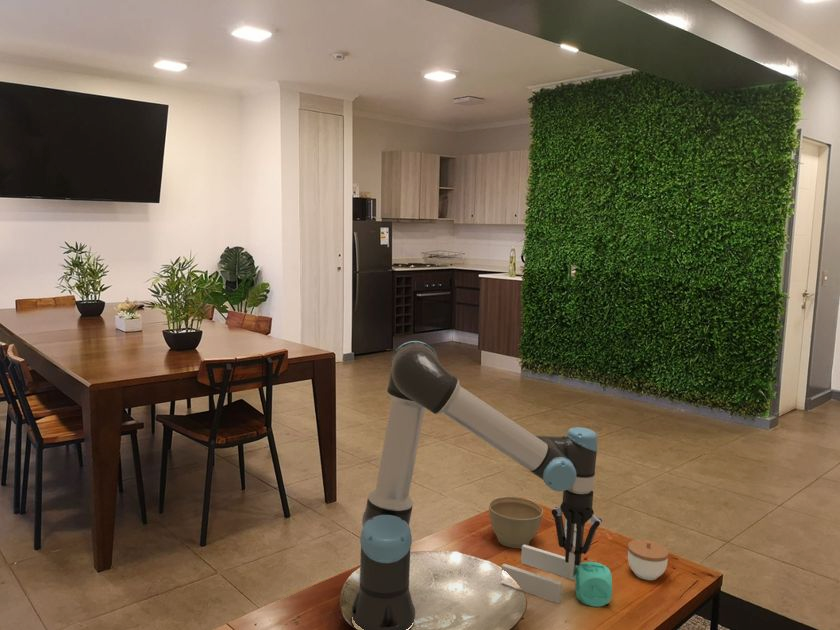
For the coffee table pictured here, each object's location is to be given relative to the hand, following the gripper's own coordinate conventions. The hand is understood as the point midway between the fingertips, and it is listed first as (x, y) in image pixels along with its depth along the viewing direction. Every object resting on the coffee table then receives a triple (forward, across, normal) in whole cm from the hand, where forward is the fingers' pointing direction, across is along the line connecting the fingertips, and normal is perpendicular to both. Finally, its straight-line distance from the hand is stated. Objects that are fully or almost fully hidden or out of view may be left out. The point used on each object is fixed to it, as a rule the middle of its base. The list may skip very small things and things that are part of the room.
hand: (571, 574), depth 170 cm
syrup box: (+5, +8, -27) cm, 29 cm away
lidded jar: (+5, -14, -21) cm, 26 cm away
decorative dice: (+5, -6, 0) cm, 7 cm away
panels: (+5, +8, 0) cm, 10 cm away
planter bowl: (+5, +24, -17) cm, 29 cm away
